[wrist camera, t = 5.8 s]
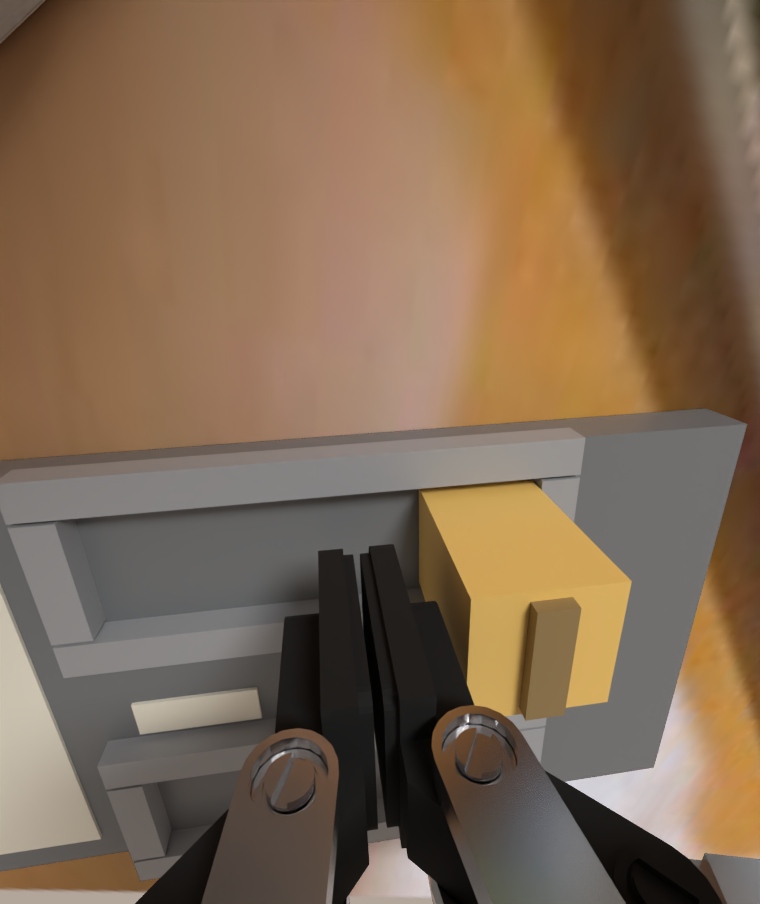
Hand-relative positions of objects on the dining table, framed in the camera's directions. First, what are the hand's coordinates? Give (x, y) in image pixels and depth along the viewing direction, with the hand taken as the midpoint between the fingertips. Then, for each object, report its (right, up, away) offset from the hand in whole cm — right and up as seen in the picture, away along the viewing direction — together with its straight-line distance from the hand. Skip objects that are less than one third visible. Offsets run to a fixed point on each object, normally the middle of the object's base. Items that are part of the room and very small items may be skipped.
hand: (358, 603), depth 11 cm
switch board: (-1, -3, +5) cm, 6 cm away
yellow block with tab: (+3, +1, +3) cm, 4 cm away
